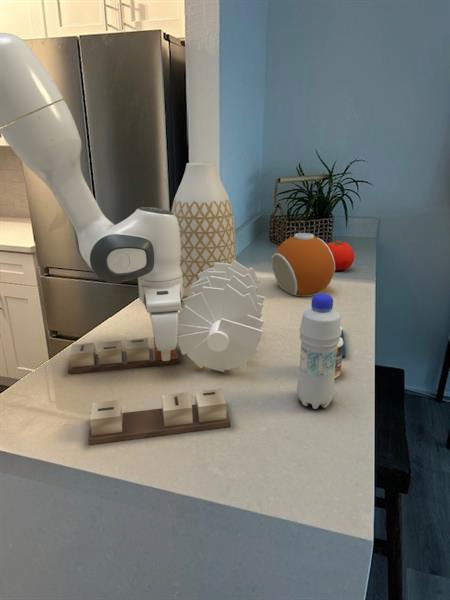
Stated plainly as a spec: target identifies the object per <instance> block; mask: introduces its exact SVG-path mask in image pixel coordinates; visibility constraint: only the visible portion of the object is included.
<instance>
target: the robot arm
mask: <svg viewBox="0 0 450 600" xmlns="http://www.w3.org/2000/svg"><path fill="white" fill-rule="evenodd" d="M0 134H1V135H2V137H3V139H4V140H5V141H6V143H7V144H8V146H9V147H10V148H11V150H12V151H13V152H14V153H15V155H16V156H17V157H18V158H19V159H20V160H21V162H22V163H23V164H24V165H25V166H26V167H27V168H28V169H29V170H30V171H31V172H32V173H33V174H34V175H36V177H38V178H39V179H40V180H41V181H42V182H43V183H44V184H45V185H46V186H47V187H48V188H49V190H50V191H51V192H52V194H53V196H54V197H55V199H56V201H57V202H58V204H59V205H60V207H61V210H62V211H63V212H64V214H65V216H66V217H67V220H68V221H69V223H70V225H71V227H72V229H73V232H74V239H75V247H76V251H77V255H78V256H79V258H80V259H81V261H82V262H83V263H85V264H86V265H87V266H88V267H89V268H90V270H91V271H92V272H93V273H94V274H95V275H96V276H97V277H98V278H99V279H101V281H104V282H106V283H111V284H120V283H124V282H128V281H132V280H134V279H137V286H138V298H139V300H140V301H141V302H142V303H143V305H144V307H145V310H146V313H148V314H149V318H150V323H151V328H152V333H153V340H154V339H155V344H156V347H157V350H158V351H161V358H162V361H169V360H170V359H171V356H170V352H171V350H174V349H175V348H176V347H177V344H178V343H177V333H178V314H179V311H181V310H182V307H181V304H182V301H183V300H182V297H183V276H182V269H181V266H180V257H181V238H180V230H179V224H178V220H177V218H176V216H175V215H174V214H173V213H171V211H169V210H167V209H164V208H159V207H153V206H140V207H138V208H136V209H135V211H134V212H133V213H131V214H130V215H129V216H128V217H126V218H125V219H123V220H122V221H120V222H118V223H114V222H113V221H111V220H110V219H109V218H108V217H107V216H106V215H105V214H104V213H103V211H102V209H101V208H100V206H99V204H98V202H97V201H96V198H95V197H94V195H93V193H92V191H91V188H90V187H89V185H88V183H87V181H86V179H85V177H84V175H83V171H82V167H81V166H82V165H81V153H82V143H83V142H82V139H81V136H80V132H79V129H78V127H77V124H76V122H75V119H74V117H73V114H72V112H71V110H70V108H69V106H68V105H67V102H66V100H65V99H64V96H63V95H62V93H61V91H60V89H59V88H58V86H57V84H56V83H55V80H54V79H53V78H52V76H51V75H50V73H49V72H48V70H47V68H46V67H45V66H44V64H43V63H42V61H41V60H40V59H39V57H38V56H37V55H36V53H35V52H34V51H33V50H32V48H31V47H30V45H28V43H27V42H26V40H23V39H22V37H19V36H17V35H15V34H13V33H9V32H0Z"/></svg>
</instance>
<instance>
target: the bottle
mask: <svg viewBox="0 0 450 600" xmlns="http://www.w3.org/2000/svg"><path fill="white" fill-rule="evenodd" d="M333 307H334V299H333V297H332V296H331V294H330V295H329V294H327V293H318V294H316V295H312V298H311V307H309V308H306V309H305V310H304V311H303V312H302V318H301V322H300V326H299V340H300V356H299V372H298V378H297V384H296V385H297V386H296V394H297V398H298V400H299V401H301V404H302V405H303V406H305V407H308V406H309V405H311V406H312V409H313V410H317V409H319V407H320V406H321V408H323V409H325V408H327V407H329V405H330V403H331V402H332V400H333V398H334V394H335V378H334V373H335V363H336V353H337V344H338V343H339V341H340V335H341V329H340V326H341V315H340V313H339V312H337V311H336V310H334V309H333Z"/></svg>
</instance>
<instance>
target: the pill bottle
mask: <svg viewBox="0 0 450 600" xmlns="http://www.w3.org/2000/svg"><path fill="white" fill-rule="evenodd" d="M340 329H341V333H342V330H343V327H342V326H341V325H340ZM340 336H341V335H340ZM342 353H343V340H342V338H341V337H340V341H339V343H338V344H337V353H336V363H335V373H334V379H336V378H338V377H340V375H341V371H342V361H343V360H342V359H343V357H342Z"/></svg>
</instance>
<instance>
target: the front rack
mask: <svg viewBox="0 0 450 600" xmlns="http://www.w3.org/2000/svg"><path fill="white" fill-rule="evenodd" d="M122 405H123V404H122V399H117V400H116V399H115V400H108V401H100V402H99V401H98V402H92V403H91V409H90V416H89V424H90V425H89V430H88V437H87V440H88V441H87V442H88V445H89V446H91V445H98V444H106V443H114V442H122V441H123V442H124V441H131V440H137V439H144V438H145V439H146V438H152V437H153V438H154V437H160V436H161V437H162V436H168V435H176V434H184V433H193V432H200V431H208V430H215V429H224V428H230V427H231V419H230V416H229V414H228V410H227V401H226V398H225V396H224V393H223V390H222V388H216V389H215V388H214V389H208V390H207V389H206V390H198V391H194V404H192V401H191V396H190V392H189V391H188V392H179V393H178V392H177V393H171V394H170V393H169V394H162V395H161V407H162V408H154V409H153V408H152V409H145V410H136V411H128V412H127V411H126V412H123V406H122Z"/></svg>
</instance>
